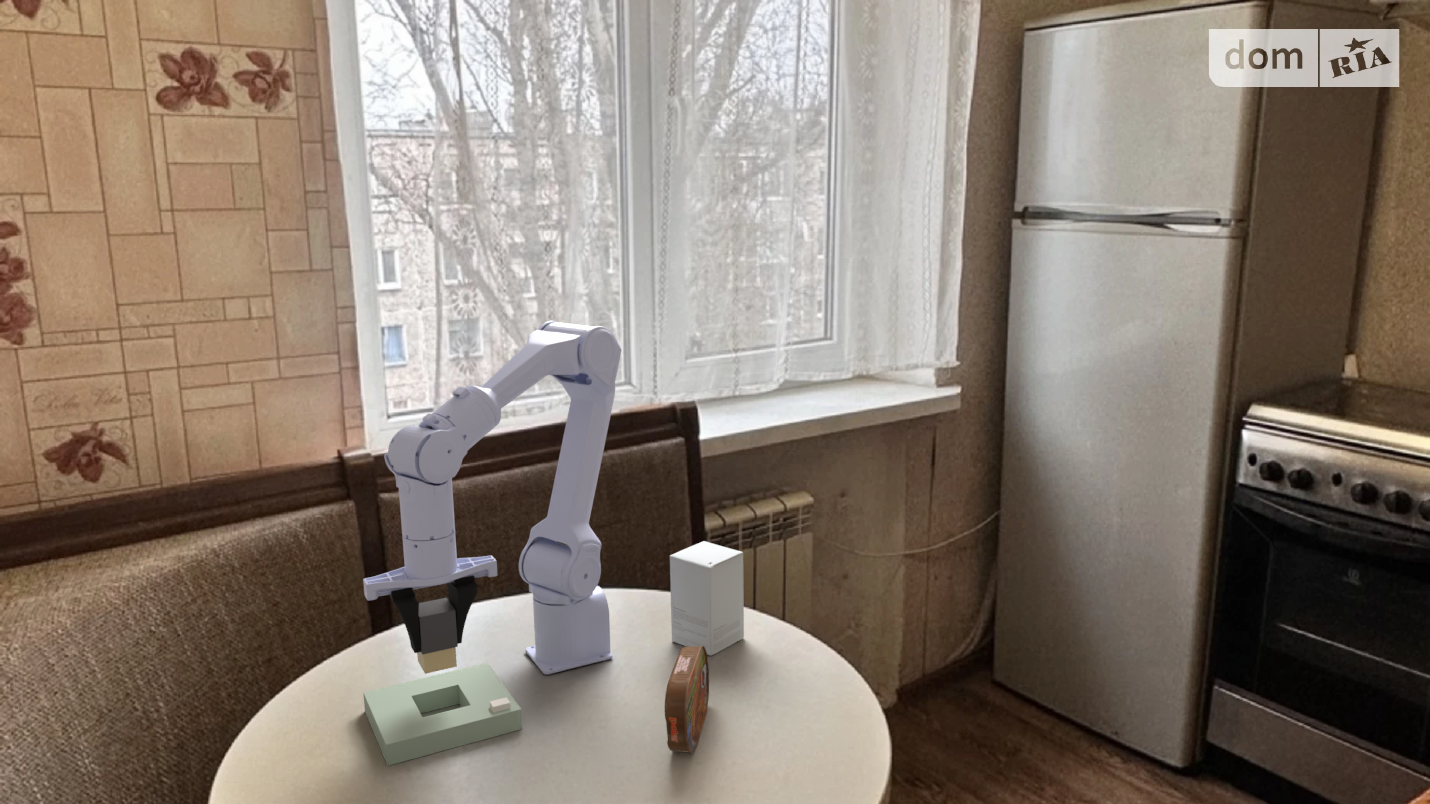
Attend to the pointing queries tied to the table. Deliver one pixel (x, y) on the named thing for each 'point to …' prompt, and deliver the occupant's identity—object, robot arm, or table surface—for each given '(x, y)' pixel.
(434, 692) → the socket panel
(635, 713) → the table surface
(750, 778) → the table surface
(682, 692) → the tin
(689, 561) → the supplement box
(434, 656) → the plug
